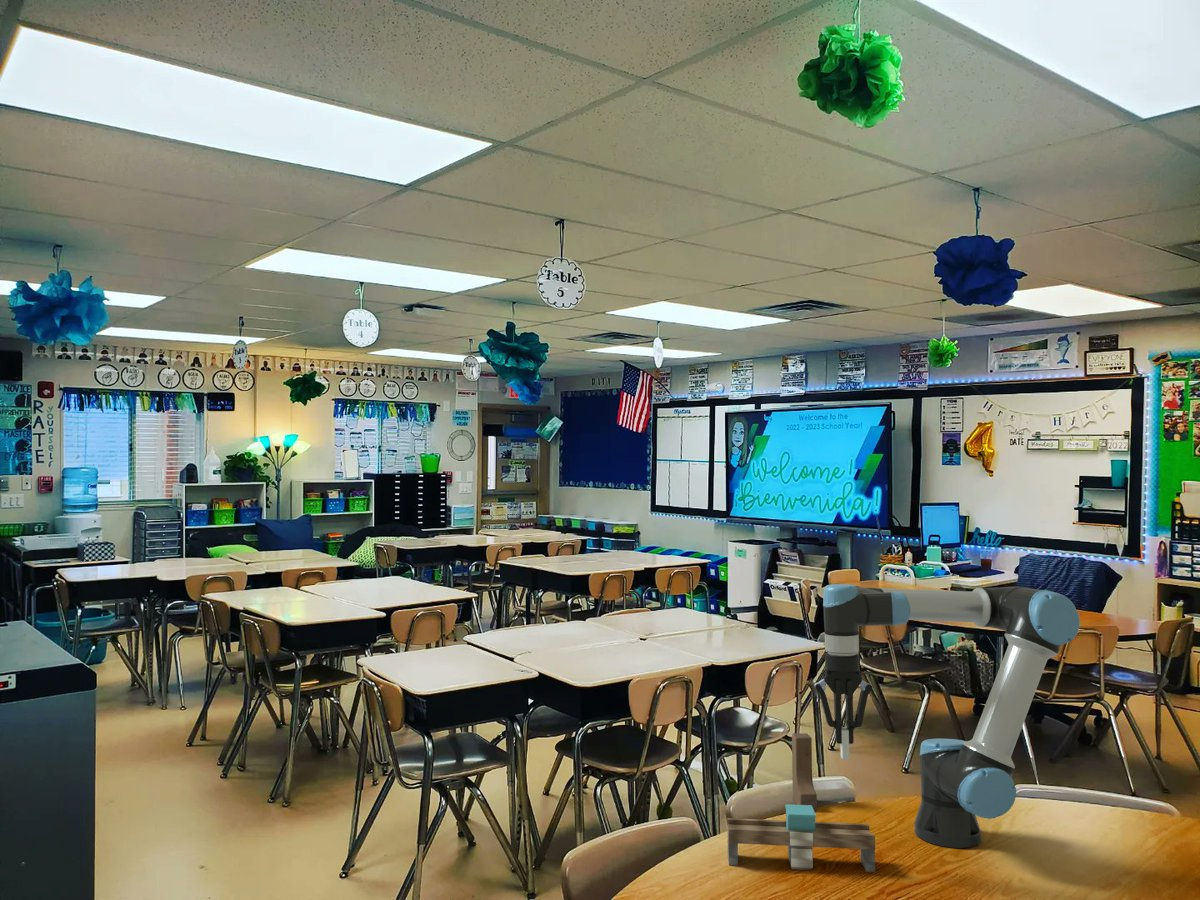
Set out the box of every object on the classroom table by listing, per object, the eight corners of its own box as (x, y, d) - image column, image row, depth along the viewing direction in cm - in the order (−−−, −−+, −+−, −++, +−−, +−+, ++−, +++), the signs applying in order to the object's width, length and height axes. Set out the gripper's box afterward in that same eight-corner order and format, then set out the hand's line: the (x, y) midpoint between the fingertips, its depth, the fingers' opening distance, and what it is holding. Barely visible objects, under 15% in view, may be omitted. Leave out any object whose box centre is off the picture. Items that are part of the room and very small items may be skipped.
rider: (812, 825, 195) (811, 805, 195) (816, 836, 188) (815, 815, 189) (785, 824, 195) (785, 804, 196) (788, 835, 189) (788, 814, 189)
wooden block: (817, 811, 224) (816, 742, 225) (800, 811, 224) (799, 742, 225) (808, 799, 233) (807, 733, 234) (792, 799, 233) (791, 733, 234)
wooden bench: (868, 859, 193) (868, 823, 194) (875, 873, 186) (875, 836, 187) (727, 853, 197) (727, 817, 197) (729, 866, 190) (728, 829, 190)
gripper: (867, 650, 197) (871, 753, 195) (810, 649, 198) (813, 752, 196) (874, 655, 189) (878, 763, 188) (815, 655, 191) (818, 762, 189)
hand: (845, 757), depth 192 cm, fingers closed
